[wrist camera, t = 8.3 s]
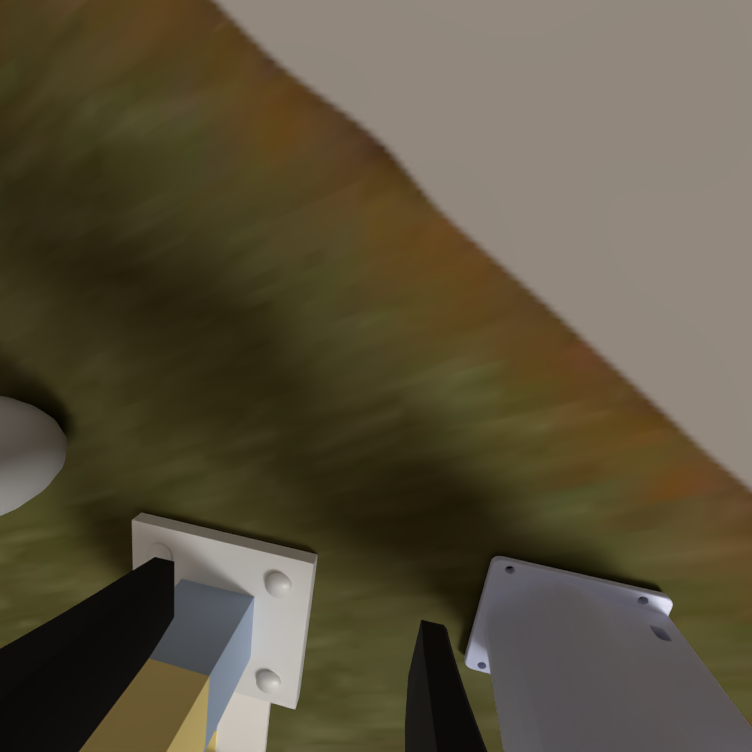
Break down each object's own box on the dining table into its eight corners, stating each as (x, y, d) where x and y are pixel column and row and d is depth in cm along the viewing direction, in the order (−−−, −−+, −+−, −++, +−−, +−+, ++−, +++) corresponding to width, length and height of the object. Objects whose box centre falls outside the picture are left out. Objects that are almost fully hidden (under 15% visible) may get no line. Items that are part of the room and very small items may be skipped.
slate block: (254, 596, 22) (206, 680, 17) (250, 657, 23) (204, 751, 19) (181, 579, 23) (115, 655, 18) (181, 638, 24) (119, 725, 19)
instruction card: (272, 688, 25) (269, 695, 25) (264, 766, 27) (261, 773, 27) (143, 652, 26) (139, 658, 26) (144, 729, 28) (140, 735, 28)
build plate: (317, 554, 22) (312, 567, 21) (299, 696, 25) (293, 714, 24) (141, 512, 23) (127, 522, 22) (143, 652, 26) (131, 667, 25)
